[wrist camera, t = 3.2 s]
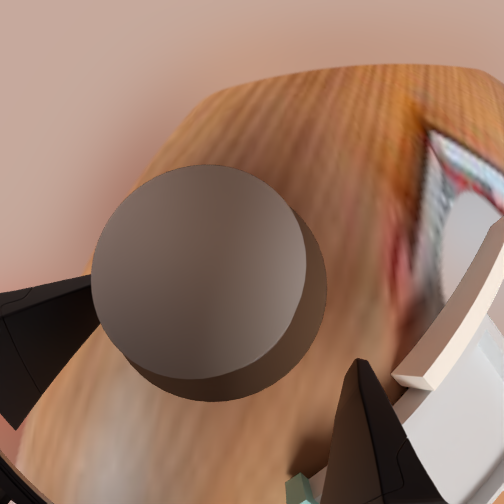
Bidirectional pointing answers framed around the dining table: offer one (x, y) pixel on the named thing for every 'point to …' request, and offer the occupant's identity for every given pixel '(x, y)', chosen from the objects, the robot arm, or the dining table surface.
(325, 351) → the dining table surface
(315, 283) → the pepper mill
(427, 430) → the grey tray
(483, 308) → the tray sleeve
